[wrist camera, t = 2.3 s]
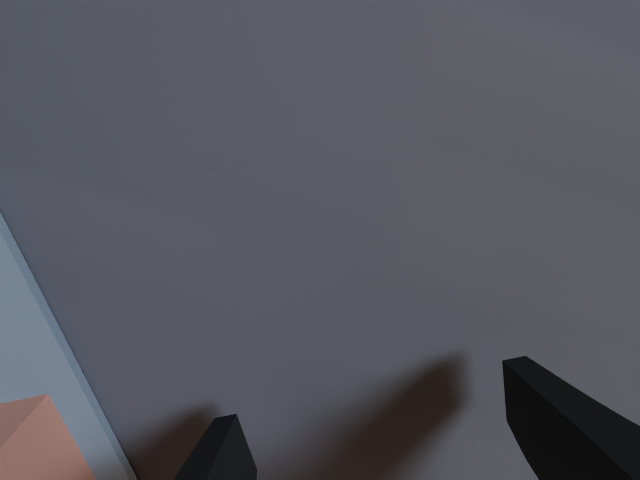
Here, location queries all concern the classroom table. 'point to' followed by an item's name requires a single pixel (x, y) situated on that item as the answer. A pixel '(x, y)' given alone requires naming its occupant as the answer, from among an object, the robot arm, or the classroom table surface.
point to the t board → (49, 365)
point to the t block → (38, 443)
